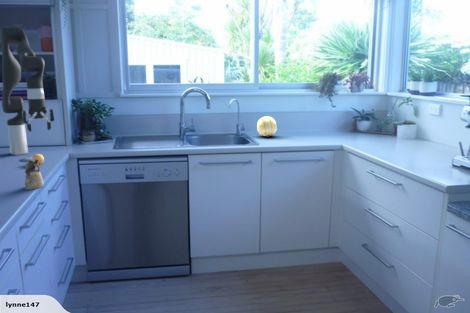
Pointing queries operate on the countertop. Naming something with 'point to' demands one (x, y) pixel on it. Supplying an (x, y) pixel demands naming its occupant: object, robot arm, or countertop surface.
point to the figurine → (33, 175)
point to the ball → (39, 157)
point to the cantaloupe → (266, 126)
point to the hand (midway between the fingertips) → (39, 130)
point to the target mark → (26, 159)
